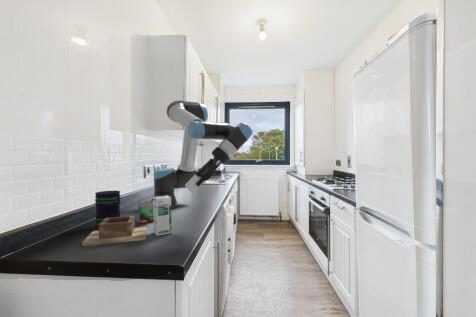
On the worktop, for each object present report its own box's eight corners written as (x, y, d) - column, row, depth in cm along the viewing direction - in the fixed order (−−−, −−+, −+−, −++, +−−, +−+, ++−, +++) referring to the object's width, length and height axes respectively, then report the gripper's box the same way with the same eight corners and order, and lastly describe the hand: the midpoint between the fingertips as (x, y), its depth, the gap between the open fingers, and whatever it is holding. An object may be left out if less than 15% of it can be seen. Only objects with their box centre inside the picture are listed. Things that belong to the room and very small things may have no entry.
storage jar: (92, 226, 107) (91, 192, 107) (115, 221, 115) (115, 189, 115) (100, 230, 101) (99, 194, 101) (124, 225, 108) (123, 191, 108)
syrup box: (157, 236, 92) (156, 198, 92) (153, 232, 97) (152, 196, 97) (171, 233, 95) (171, 196, 95) (167, 229, 100) (167, 194, 100)
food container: (150, 225, 107) (149, 202, 107) (137, 224, 109) (137, 202, 108) (164, 218, 119) (163, 198, 119) (152, 218, 121) (152, 197, 121)
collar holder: (93, 234, 95) (92, 218, 95) (147, 229, 101) (147, 214, 101) (82, 246, 82) (82, 227, 82) (145, 239, 88) (145, 222, 88)
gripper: (238, 158, 92) (199, 200, 88) (223, 158, 116) (191, 191, 112) (224, 144, 91) (184, 186, 86) (211, 147, 115) (179, 180, 110)
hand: (188, 189), depth 99 cm, fingers open, 13 cm apart
